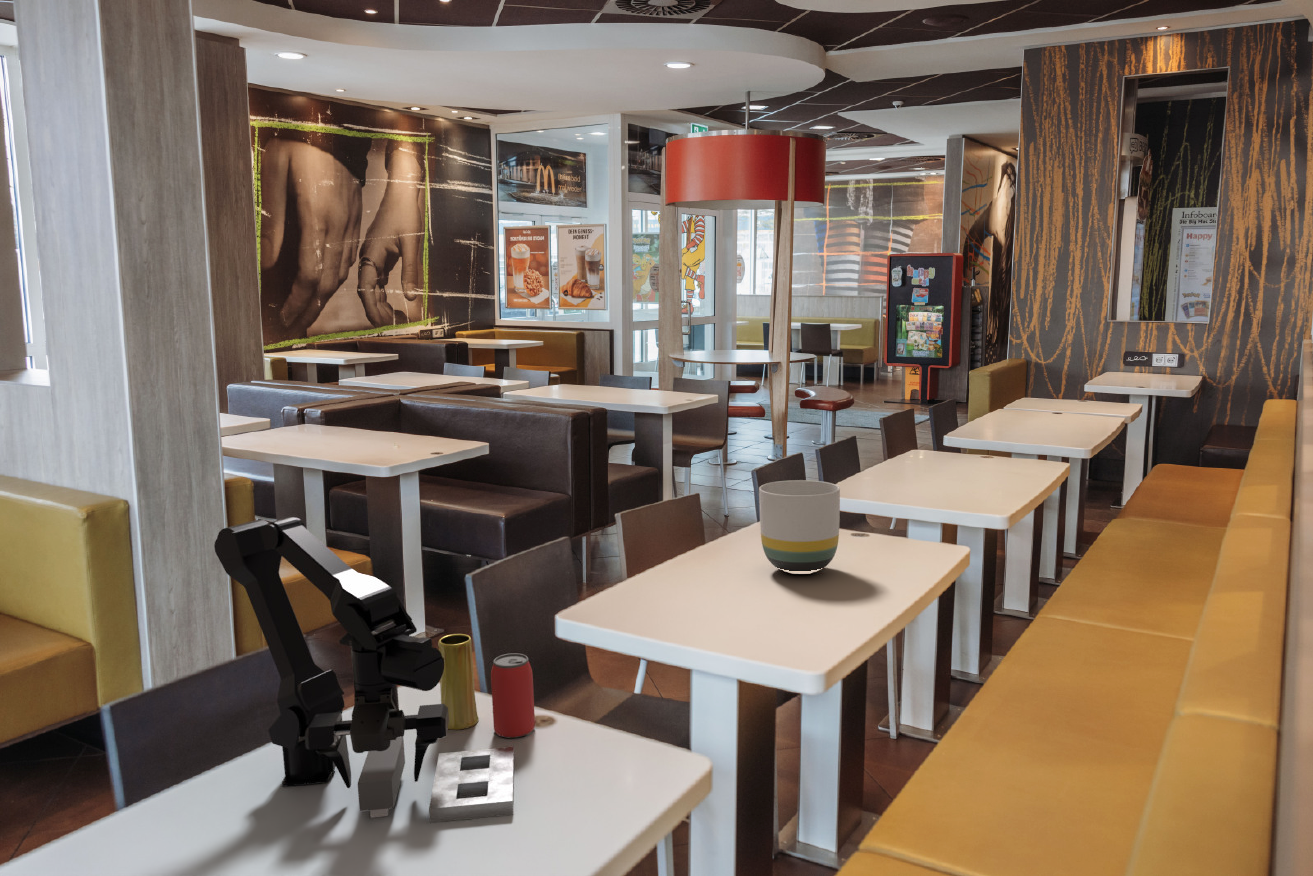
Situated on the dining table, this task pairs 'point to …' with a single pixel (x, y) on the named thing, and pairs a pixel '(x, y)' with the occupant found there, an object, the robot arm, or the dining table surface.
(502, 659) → the beer can
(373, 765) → the grey rectangular block
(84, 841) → the dining table surface
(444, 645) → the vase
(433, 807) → the mount plate
